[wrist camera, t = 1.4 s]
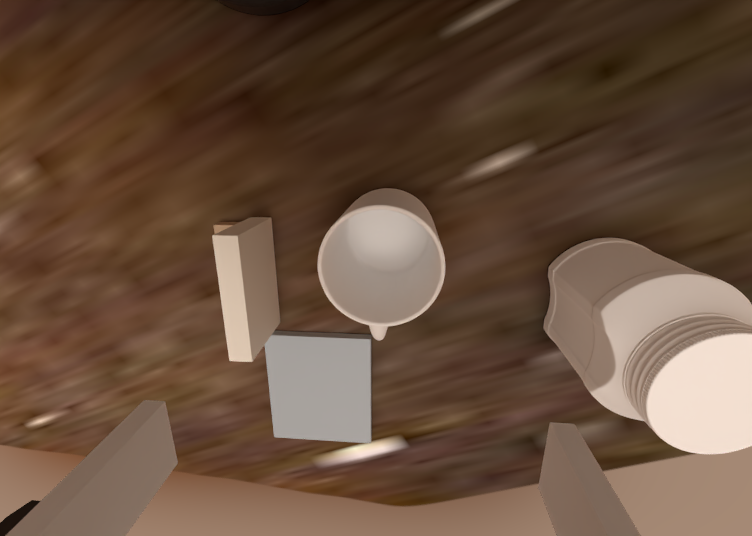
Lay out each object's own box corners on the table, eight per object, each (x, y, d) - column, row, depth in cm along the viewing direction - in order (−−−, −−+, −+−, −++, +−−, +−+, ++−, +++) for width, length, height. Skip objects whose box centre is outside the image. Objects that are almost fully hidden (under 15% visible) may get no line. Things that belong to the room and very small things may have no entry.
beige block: (220, 216, 36) (174, 234, 29) (271, 217, 36) (237, 235, 29) (233, 320, 39) (195, 359, 32) (280, 322, 39) (252, 361, 32)
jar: (549, 239, 34) (650, 307, 20) (662, 234, 33) (851, 302, 19) (540, 350, 38) (620, 475, 24) (642, 349, 37) (788, 477, 23)
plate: (267, 330, 40) (263, 334, 39) (371, 334, 39) (370, 339, 38) (277, 430, 44) (274, 437, 43) (371, 436, 43) (370, 443, 42)
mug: (340, 304, 38) (316, 362, 28) (344, 183, 34) (317, 200, 24) (425, 311, 38) (432, 374, 27) (439, 189, 34) (453, 209, 24)
